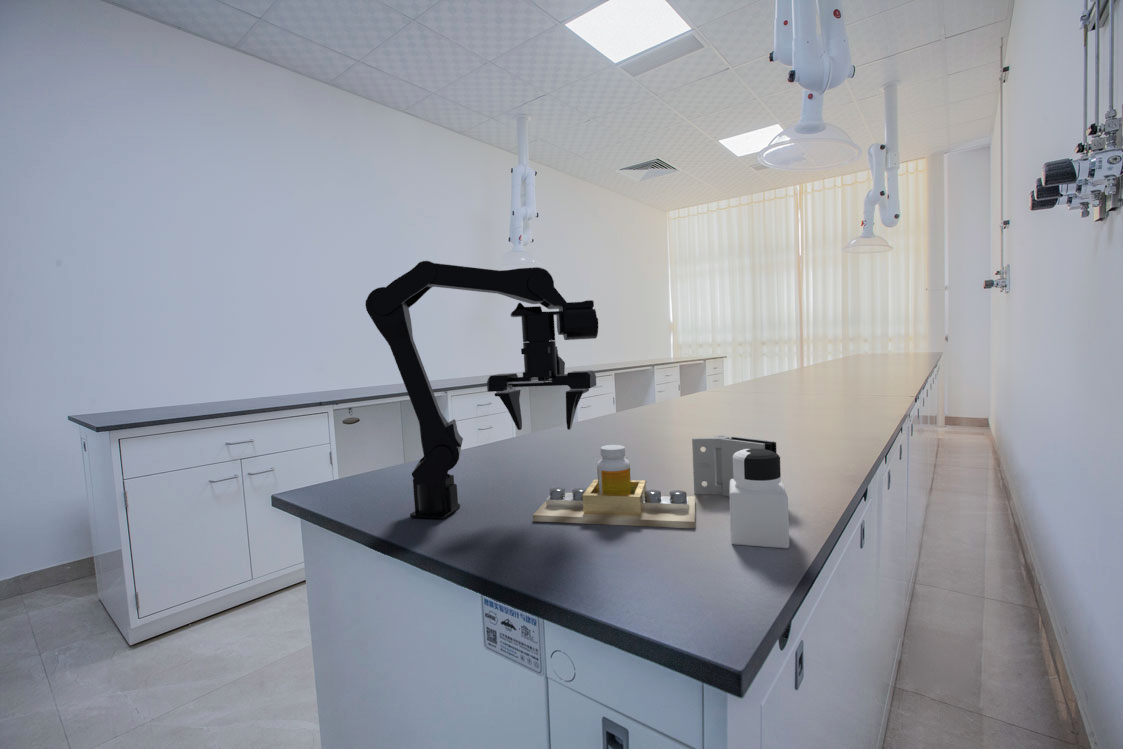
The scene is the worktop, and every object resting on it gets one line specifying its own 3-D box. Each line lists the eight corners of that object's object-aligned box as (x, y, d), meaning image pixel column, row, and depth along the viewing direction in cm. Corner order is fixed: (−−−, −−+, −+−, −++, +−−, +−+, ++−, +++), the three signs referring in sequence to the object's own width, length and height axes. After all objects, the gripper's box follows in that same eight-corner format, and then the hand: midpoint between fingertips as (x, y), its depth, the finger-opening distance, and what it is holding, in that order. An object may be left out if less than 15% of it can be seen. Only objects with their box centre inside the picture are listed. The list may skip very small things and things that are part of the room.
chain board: (533, 521, 80) (532, 515, 79) (554, 497, 91) (553, 492, 91) (694, 528, 73) (694, 521, 73) (695, 502, 84) (695, 496, 84)
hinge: (692, 494, 89) (690, 438, 89) (704, 486, 93) (701, 433, 93) (773, 506, 81) (772, 444, 80) (782, 497, 85) (780, 438, 84)
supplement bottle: (638, 506, 81) (635, 447, 80) (609, 513, 78) (607, 452, 78) (620, 498, 86) (617, 442, 85) (593, 503, 83) (590, 446, 83)
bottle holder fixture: (541, 512, 81) (540, 493, 80) (556, 495, 89) (555, 478, 89) (687, 517, 74) (686, 498, 74) (688, 499, 83) (688, 481, 83)
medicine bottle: (784, 529, 71) (781, 446, 70) (789, 549, 64) (787, 457, 63) (731, 525, 73) (728, 445, 72) (731, 545, 66) (728, 456, 66)
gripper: (600, 338, 93) (604, 421, 94) (506, 343, 98) (511, 422, 99) (587, 338, 82) (592, 432, 83) (483, 344, 87) (488, 433, 88)
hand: (544, 429), depth 88 cm, fingers open, 9 cm apart
